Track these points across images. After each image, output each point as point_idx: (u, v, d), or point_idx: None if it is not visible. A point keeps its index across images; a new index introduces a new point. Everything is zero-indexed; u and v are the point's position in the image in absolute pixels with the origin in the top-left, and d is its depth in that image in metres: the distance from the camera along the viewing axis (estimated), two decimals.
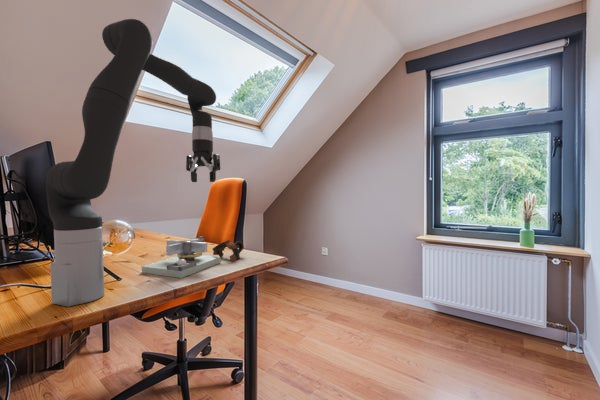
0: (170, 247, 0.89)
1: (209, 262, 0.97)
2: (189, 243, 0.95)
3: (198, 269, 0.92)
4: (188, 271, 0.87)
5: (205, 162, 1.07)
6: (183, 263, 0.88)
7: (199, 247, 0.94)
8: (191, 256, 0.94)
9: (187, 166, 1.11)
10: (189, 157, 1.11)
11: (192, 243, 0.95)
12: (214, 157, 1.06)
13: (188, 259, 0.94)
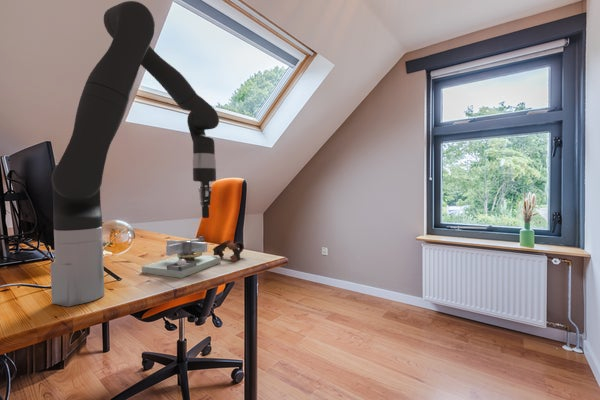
0: (170, 247, 0.89)
1: (209, 262, 0.97)
2: (189, 243, 0.95)
3: (198, 269, 0.92)
4: (188, 271, 0.87)
5: None
6: (183, 263, 0.88)
7: (199, 247, 0.94)
8: (191, 256, 0.94)
9: (209, 201, 0.96)
10: None
11: (192, 243, 0.95)
12: None
13: (188, 259, 0.94)
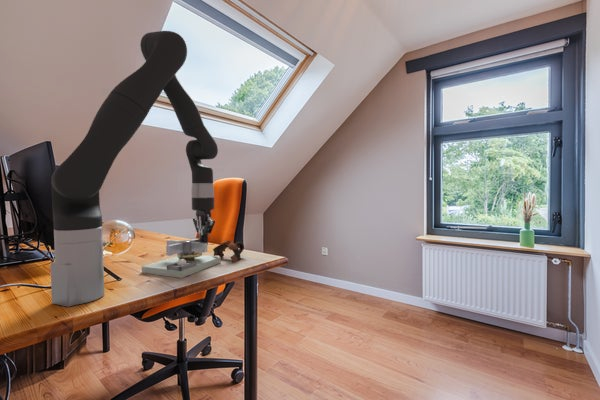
0: (170, 247, 0.89)
1: (209, 262, 0.97)
2: (189, 243, 0.95)
3: (198, 269, 0.92)
4: (188, 271, 0.87)
5: None
6: (183, 263, 0.88)
7: (199, 247, 0.94)
8: (191, 256, 0.94)
9: None
10: None
11: (192, 243, 0.95)
12: None
13: (188, 259, 0.94)
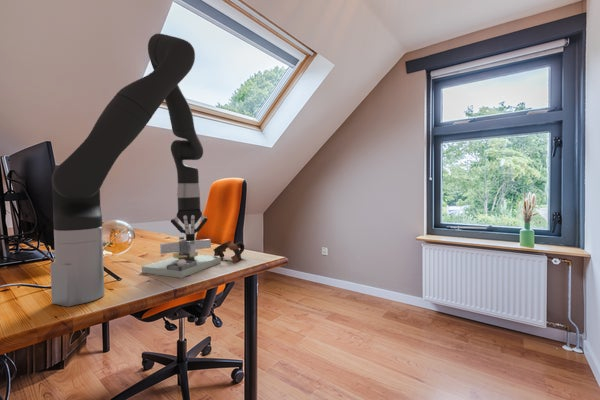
0: None
1: (209, 262, 0.97)
2: (194, 242, 0.97)
3: (198, 269, 0.92)
4: (188, 271, 0.87)
5: None
6: (183, 263, 0.88)
7: (205, 244, 0.99)
8: (196, 254, 0.97)
9: None
10: None
11: (196, 241, 0.98)
12: None
13: (194, 257, 0.96)
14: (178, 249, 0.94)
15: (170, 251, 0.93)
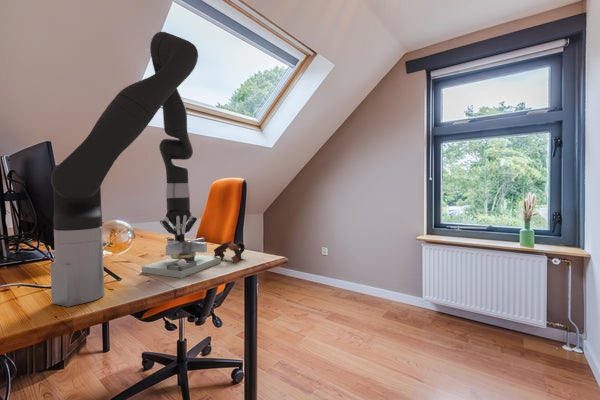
0: None
1: (209, 262, 0.97)
2: None
3: (198, 269, 0.92)
4: (188, 271, 0.87)
5: None
6: (183, 263, 0.88)
7: None
8: (195, 253, 0.99)
9: None
10: None
11: (194, 241, 0.99)
12: None
13: (194, 257, 0.98)
14: (182, 249, 0.94)
15: (175, 252, 0.91)
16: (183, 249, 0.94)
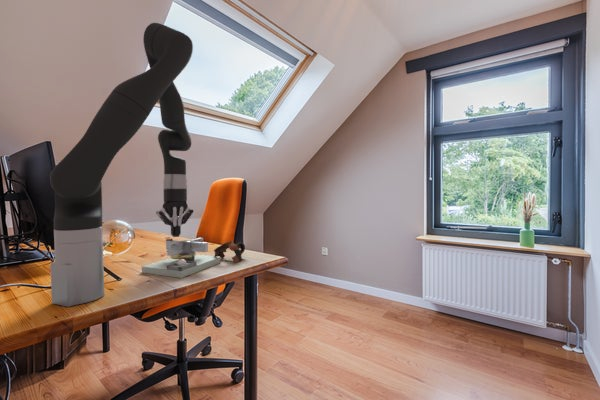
0: None
1: (209, 262, 0.97)
2: None
3: (198, 269, 0.92)
4: (188, 271, 0.87)
5: None
6: (183, 263, 0.88)
7: None
8: None
9: None
10: None
11: (194, 241, 0.99)
12: None
13: None
14: (182, 249, 0.94)
15: (177, 252, 0.91)
16: (184, 249, 0.94)
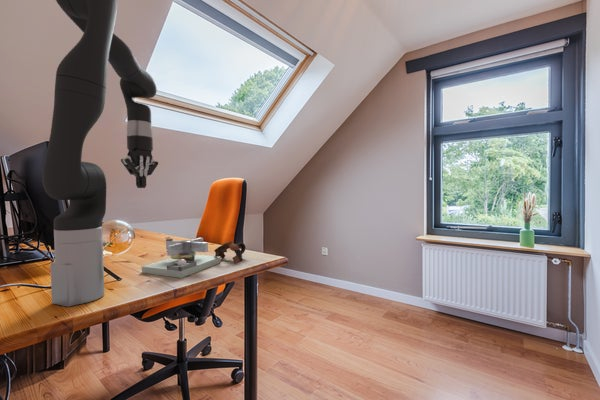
0: None
1: (209, 262, 0.97)
2: None
3: (198, 269, 0.92)
4: (188, 271, 0.87)
5: None
6: (183, 263, 0.88)
7: None
8: None
9: None
10: None
11: (194, 241, 0.99)
12: None
13: None
14: (182, 249, 0.94)
15: (177, 252, 0.91)
16: (184, 249, 0.94)
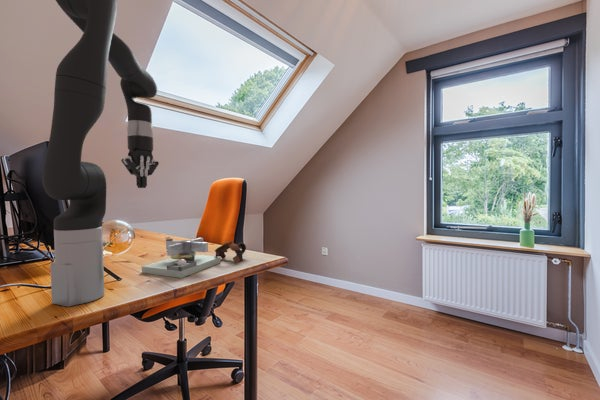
0: None
1: (209, 262, 0.97)
2: None
3: (198, 269, 0.92)
4: (188, 271, 0.87)
5: None
6: (183, 263, 0.88)
7: None
8: None
9: None
10: None
11: (194, 241, 0.99)
12: None
13: None
14: (182, 249, 0.94)
15: (177, 252, 0.91)
16: (184, 249, 0.94)
